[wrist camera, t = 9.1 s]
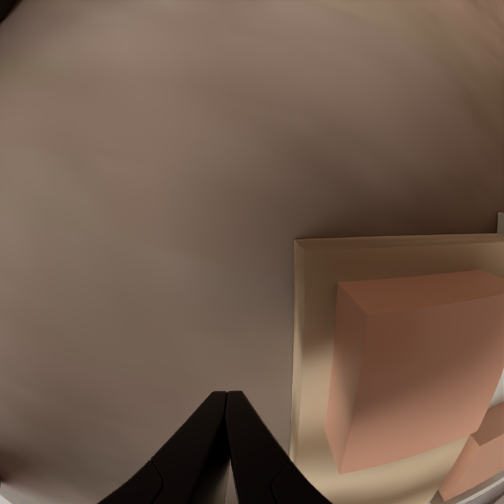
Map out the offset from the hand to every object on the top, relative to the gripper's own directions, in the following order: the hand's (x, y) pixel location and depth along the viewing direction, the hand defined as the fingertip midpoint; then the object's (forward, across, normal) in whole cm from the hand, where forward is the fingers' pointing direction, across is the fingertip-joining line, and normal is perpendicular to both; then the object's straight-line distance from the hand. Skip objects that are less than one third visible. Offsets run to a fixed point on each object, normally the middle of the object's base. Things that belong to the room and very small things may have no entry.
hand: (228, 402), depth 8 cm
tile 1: (+3, -16, +10) cm, 19 cm away
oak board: (+4, -7, +5) cm, 10 cm away
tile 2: (+2, -6, 0) cm, 7 cm away
